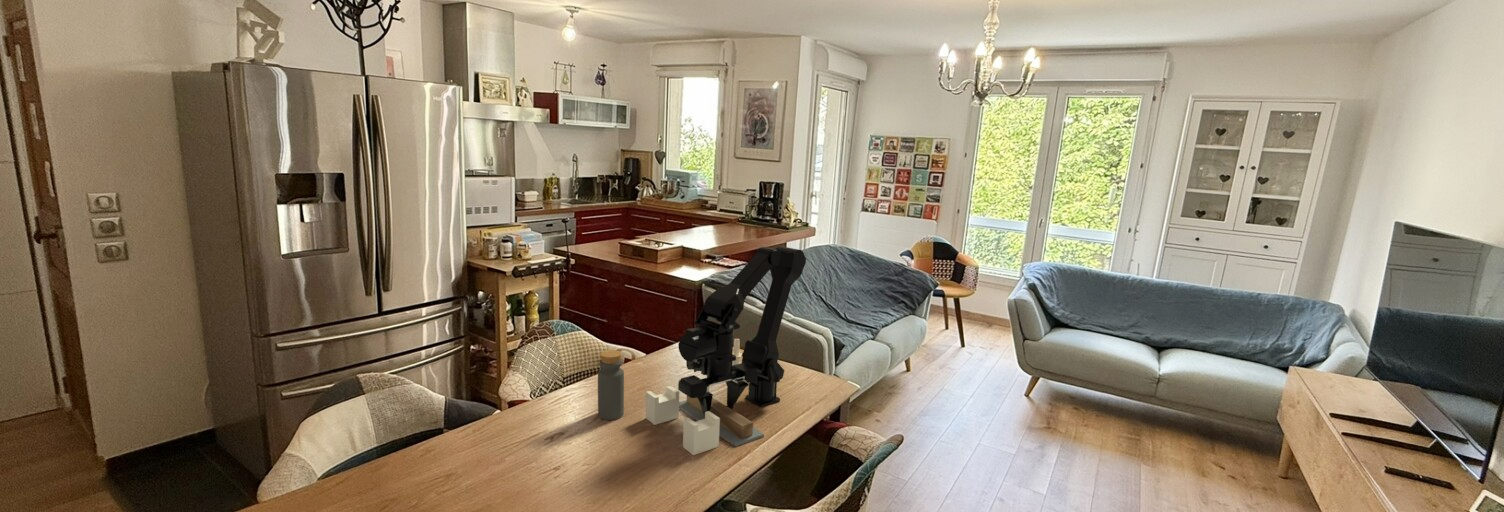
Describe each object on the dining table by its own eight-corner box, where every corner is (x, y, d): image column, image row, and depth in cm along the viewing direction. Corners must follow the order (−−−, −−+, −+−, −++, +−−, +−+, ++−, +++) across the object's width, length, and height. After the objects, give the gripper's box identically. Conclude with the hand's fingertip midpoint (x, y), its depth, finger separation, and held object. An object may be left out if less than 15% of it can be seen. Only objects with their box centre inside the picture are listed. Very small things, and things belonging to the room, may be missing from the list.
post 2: (708, 438, 131) (708, 411, 130) (718, 446, 128) (719, 418, 127) (682, 447, 127) (683, 418, 126) (693, 455, 124) (694, 426, 123)
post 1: (669, 411, 144) (670, 385, 142) (678, 417, 141) (679, 391, 139) (645, 418, 140) (646, 391, 138) (654, 424, 137) (654, 398, 135)
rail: (696, 399, 149) (697, 387, 149) (752, 435, 133) (753, 422, 132) (686, 402, 147) (686, 390, 147) (741, 439, 131) (742, 426, 130)
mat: (702, 397, 152) (703, 395, 152) (763, 436, 133) (764, 434, 133) (675, 405, 147) (675, 403, 147) (735, 446, 129) (735, 444, 128)
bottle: (617, 421, 137) (617, 359, 134) (593, 418, 138) (593, 356, 135) (627, 410, 143) (628, 350, 140) (604, 407, 144) (604, 347, 141)
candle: (724, 369, 171) (725, 334, 169) (742, 368, 172) (744, 333, 170) (728, 376, 166) (729, 340, 164) (746, 375, 167) (748, 339, 165)
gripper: (731, 333, 149) (729, 392, 152) (665, 347, 137) (664, 411, 140) (760, 346, 140) (757, 409, 143) (692, 362, 129) (691, 430, 132)
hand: (717, 414), depth 140 cm, fingers open, 6 cm apart
